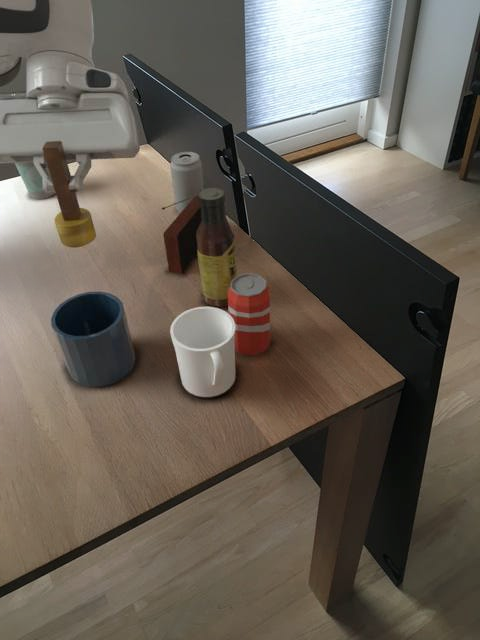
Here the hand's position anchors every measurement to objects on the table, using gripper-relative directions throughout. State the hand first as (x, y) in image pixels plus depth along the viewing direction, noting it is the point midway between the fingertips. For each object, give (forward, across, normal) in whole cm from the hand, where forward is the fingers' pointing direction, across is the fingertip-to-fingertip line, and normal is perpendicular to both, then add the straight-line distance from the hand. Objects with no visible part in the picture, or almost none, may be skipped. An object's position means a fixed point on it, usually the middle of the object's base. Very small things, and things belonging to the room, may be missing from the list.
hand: (63, 191), depth 72 cm
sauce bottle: (+13, +19, +24) cm, 33 cm away
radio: (+3, +13, +34) cm, 36 cm away
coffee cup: (-16, -23, +52) cm, 59 cm away
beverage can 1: (-8, +12, +45) cm, 47 cm away
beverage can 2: (+21, +24, +15) cm, 35 cm away
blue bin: (+23, +1, +13) cm, 26 cm away
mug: (+27, +18, +10) cm, 34 cm away
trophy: (+5, 0, +6) cm, 8 cm away
